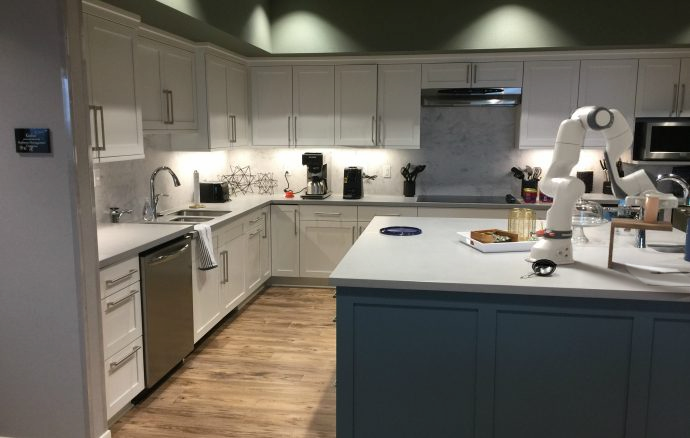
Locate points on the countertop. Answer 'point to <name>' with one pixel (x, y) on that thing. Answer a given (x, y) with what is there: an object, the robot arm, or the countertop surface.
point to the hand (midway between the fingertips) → (651, 203)
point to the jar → (651, 208)
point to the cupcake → (538, 231)
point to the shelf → (634, 225)
